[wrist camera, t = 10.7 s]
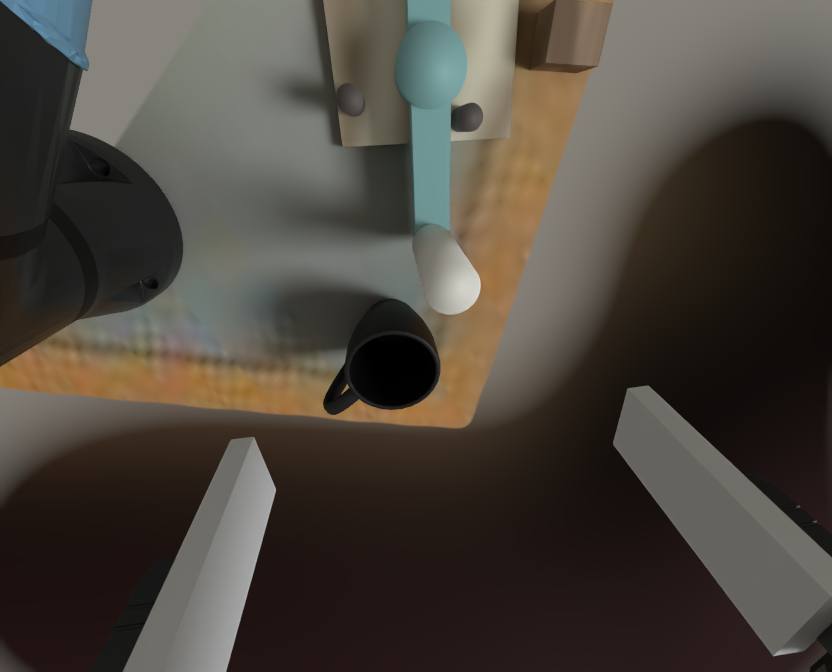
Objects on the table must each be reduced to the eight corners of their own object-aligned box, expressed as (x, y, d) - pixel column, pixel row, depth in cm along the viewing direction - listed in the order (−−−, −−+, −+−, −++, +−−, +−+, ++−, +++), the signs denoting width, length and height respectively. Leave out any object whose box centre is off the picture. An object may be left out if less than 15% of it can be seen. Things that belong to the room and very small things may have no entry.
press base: (343, 146, 31) (337, 148, 26) (320, -30, 25) (307, -65, 21) (506, 137, 31) (526, 137, 27) (517, -38, 26) (544, -72, 22)
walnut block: (545, 62, 26) (598, 66, 27) (556, -2, 25) (612, 3, 25) (528, 70, 29) (576, 73, 30) (537, 13, 28) (587, 17, 28)
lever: (403, 256, 33) (413, 316, 22) (387, -69, 23) (390, -259, 12) (454, 253, 34) (490, 312, 23) (461, -69, 23) (532, -256, 12)
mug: (309, 335, 39) (289, 389, 31) (399, 271, 36) (403, 311, 28) (358, 383, 43) (352, 443, 34) (443, 329, 40) (458, 379, 32)
